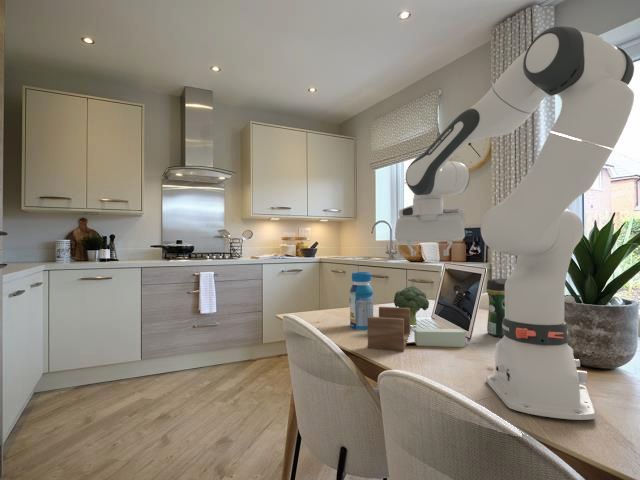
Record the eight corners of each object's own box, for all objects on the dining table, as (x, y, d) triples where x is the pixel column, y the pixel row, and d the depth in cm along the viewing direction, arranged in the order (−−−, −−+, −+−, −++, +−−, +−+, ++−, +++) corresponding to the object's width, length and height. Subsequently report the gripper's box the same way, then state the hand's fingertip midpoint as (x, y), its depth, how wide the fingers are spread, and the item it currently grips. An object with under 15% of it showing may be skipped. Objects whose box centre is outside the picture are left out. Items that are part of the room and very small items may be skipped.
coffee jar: (510, 332, 128) (510, 277, 128) (524, 337, 120) (524, 279, 120) (483, 332, 127) (482, 277, 128) (495, 338, 120) (494, 279, 120)
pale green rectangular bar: (461, 344, 114) (461, 329, 114) (465, 347, 110) (465, 332, 110) (414, 343, 115) (414, 328, 115) (416, 346, 111) (416, 331, 111)
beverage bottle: (366, 333, 127) (365, 273, 127) (345, 330, 132) (344, 272, 132) (378, 328, 134) (377, 272, 134) (357, 325, 139) (357, 271, 139)
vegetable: (415, 333, 126) (415, 288, 127) (385, 327, 136) (385, 285, 136) (435, 328, 134) (435, 286, 135) (405, 322, 144) (405, 283, 144)
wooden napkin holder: (403, 352, 105) (403, 319, 105) (367, 349, 108) (367, 317, 108) (410, 335, 124) (409, 308, 124) (379, 333, 127) (379, 306, 127)
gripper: (464, 209, 114) (465, 255, 114) (395, 213, 120) (397, 256, 120) (465, 207, 108) (467, 255, 108) (393, 211, 114) (394, 256, 114)
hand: (429, 255), depth 114 cm, fingers open, 8 cm apart
